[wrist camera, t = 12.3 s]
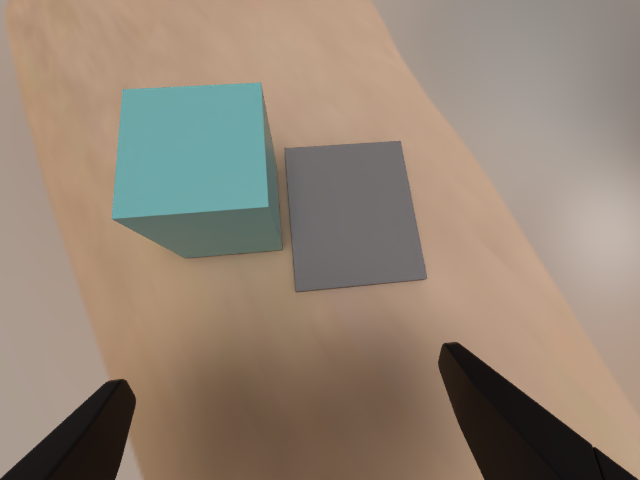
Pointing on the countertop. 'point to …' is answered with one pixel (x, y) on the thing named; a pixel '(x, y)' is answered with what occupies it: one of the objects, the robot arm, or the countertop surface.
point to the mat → (352, 216)
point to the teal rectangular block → (198, 169)
